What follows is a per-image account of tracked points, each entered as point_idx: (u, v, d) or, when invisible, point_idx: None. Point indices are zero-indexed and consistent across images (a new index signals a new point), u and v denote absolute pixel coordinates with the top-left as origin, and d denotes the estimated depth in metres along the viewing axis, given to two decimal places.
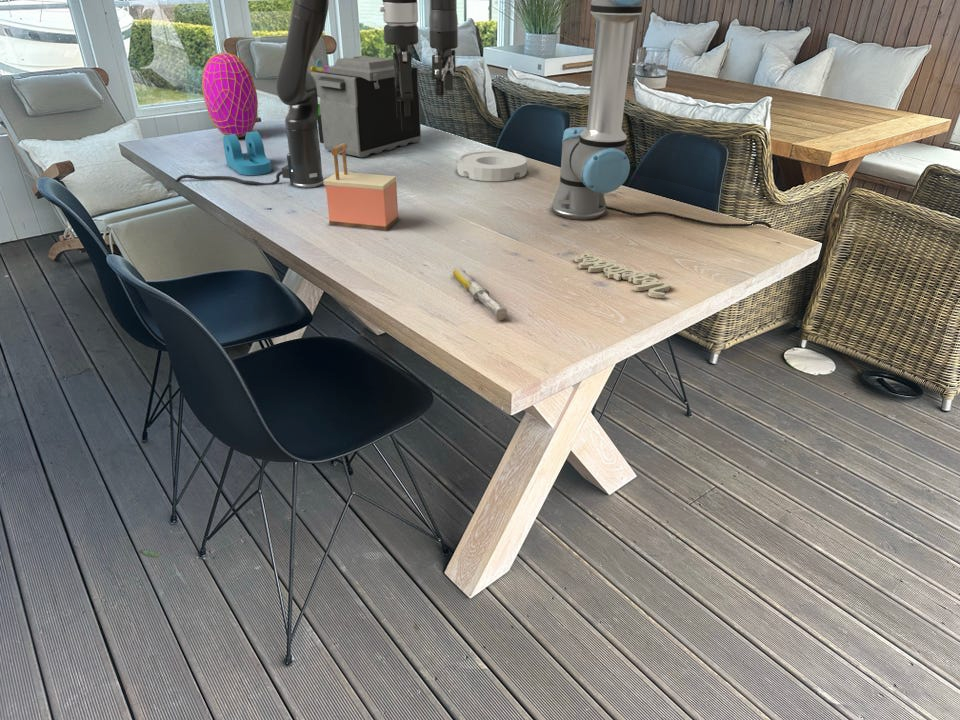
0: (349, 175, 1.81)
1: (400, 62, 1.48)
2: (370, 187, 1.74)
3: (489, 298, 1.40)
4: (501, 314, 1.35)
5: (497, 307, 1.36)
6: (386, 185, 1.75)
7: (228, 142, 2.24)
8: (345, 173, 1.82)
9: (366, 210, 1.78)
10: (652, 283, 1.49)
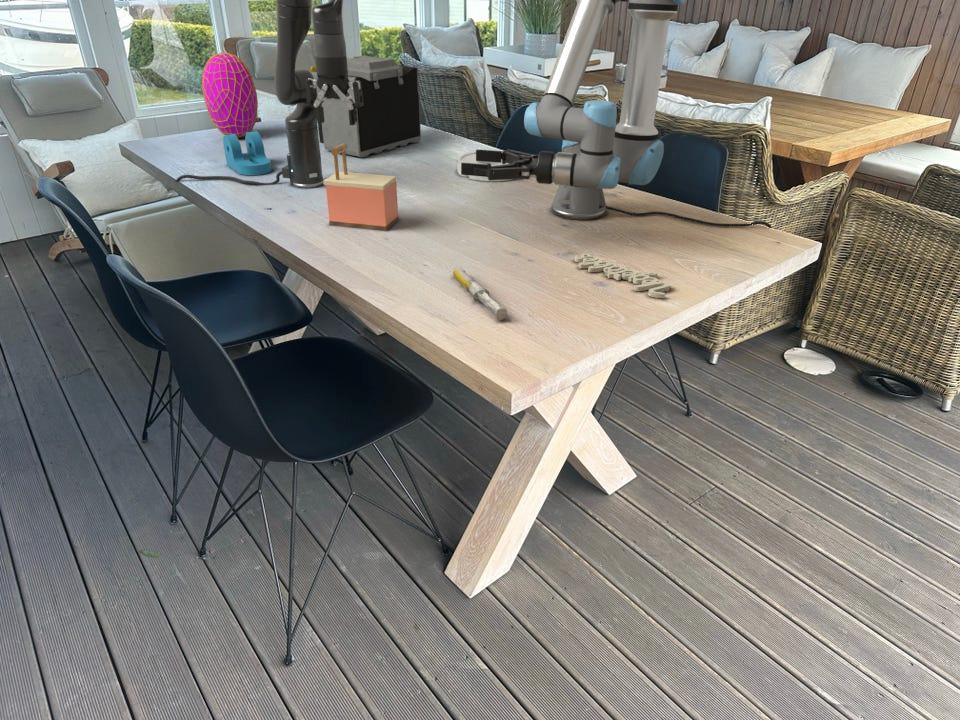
0: (349, 175, 1.81)
1: None
2: (370, 187, 1.74)
3: (489, 298, 1.40)
4: (501, 314, 1.35)
5: (497, 307, 1.36)
6: (386, 185, 1.75)
7: (228, 142, 2.24)
8: (345, 173, 1.82)
9: (366, 210, 1.78)
10: (652, 283, 1.49)
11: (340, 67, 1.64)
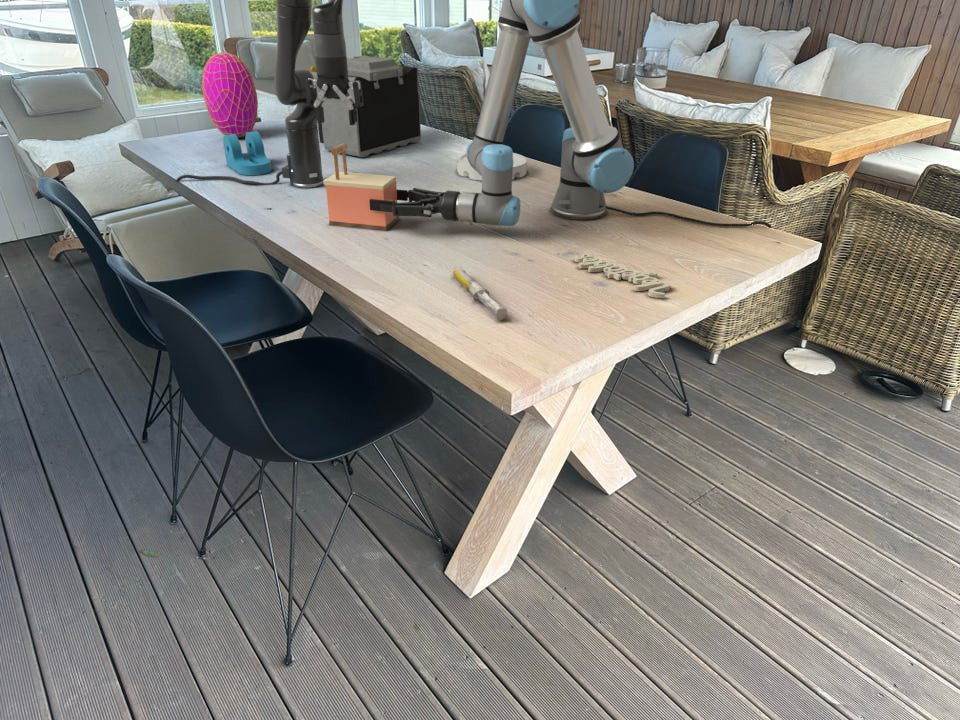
0: (349, 175, 1.81)
1: None
2: (370, 187, 1.74)
3: (489, 298, 1.40)
4: (501, 314, 1.35)
5: (497, 307, 1.36)
6: (386, 185, 1.75)
7: (228, 142, 2.24)
8: (345, 173, 1.82)
9: (366, 210, 1.78)
10: (652, 283, 1.49)
11: (340, 67, 1.64)
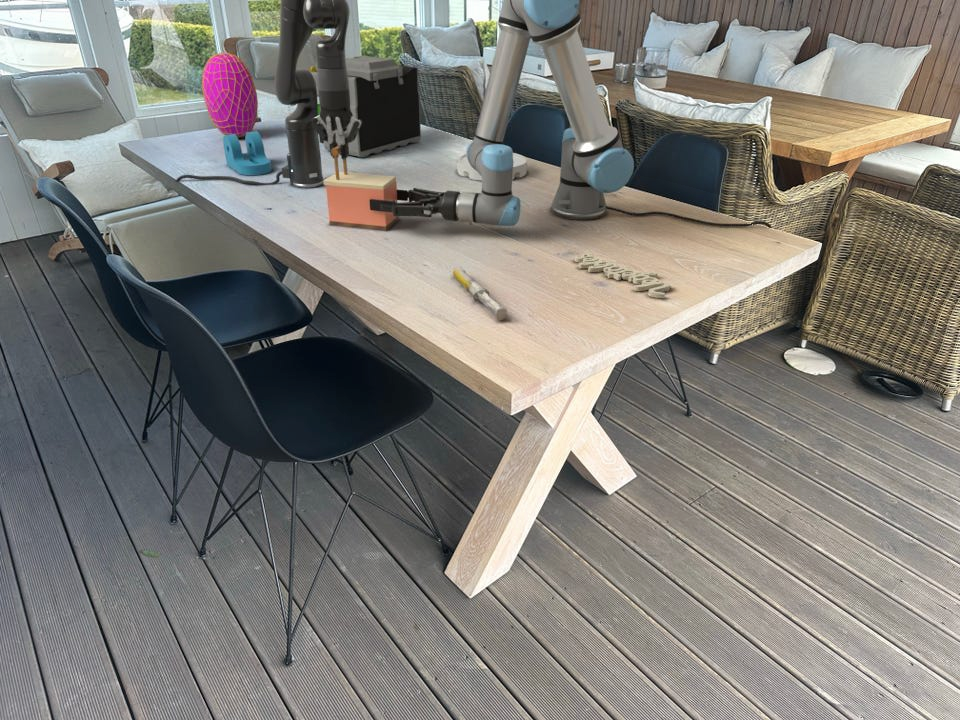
0: (349, 175, 1.81)
1: None
2: (370, 187, 1.74)
3: (489, 298, 1.40)
4: (501, 314, 1.35)
5: (497, 307, 1.36)
6: (386, 185, 1.75)
7: (228, 142, 2.24)
8: (345, 173, 1.82)
9: (366, 210, 1.78)
10: (652, 283, 1.49)
11: (343, 100, 1.68)
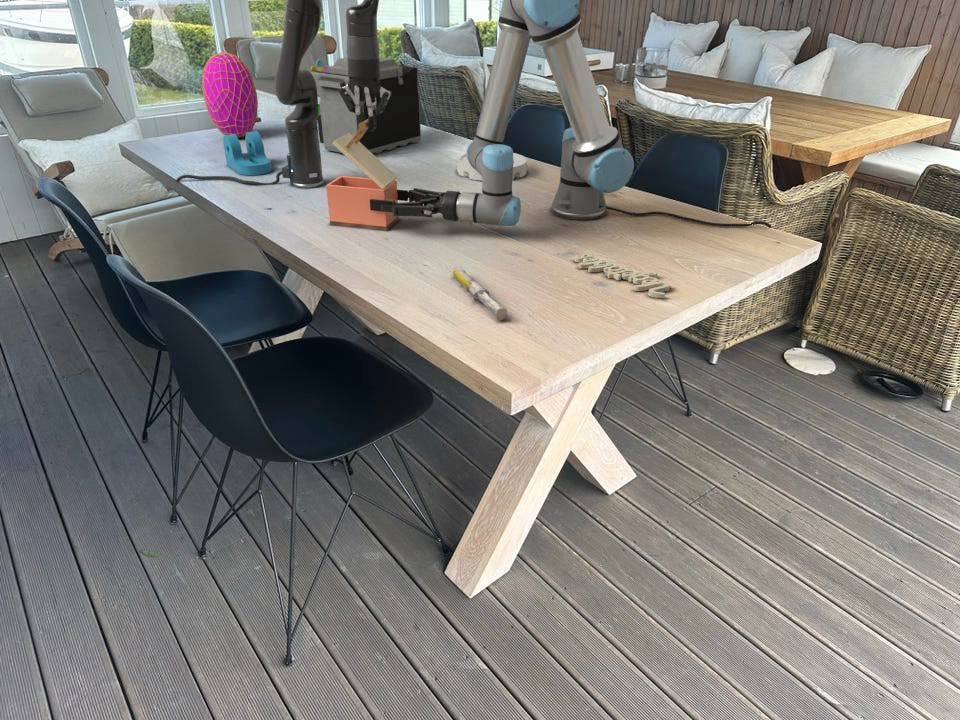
0: (358, 146, 1.77)
1: None
2: (372, 178, 1.73)
3: (489, 298, 1.40)
4: (501, 314, 1.35)
5: (497, 307, 1.36)
6: (387, 185, 1.75)
7: (228, 142, 2.24)
8: (356, 142, 1.77)
9: (367, 210, 1.78)
10: (652, 283, 1.49)
11: (373, 69, 1.62)
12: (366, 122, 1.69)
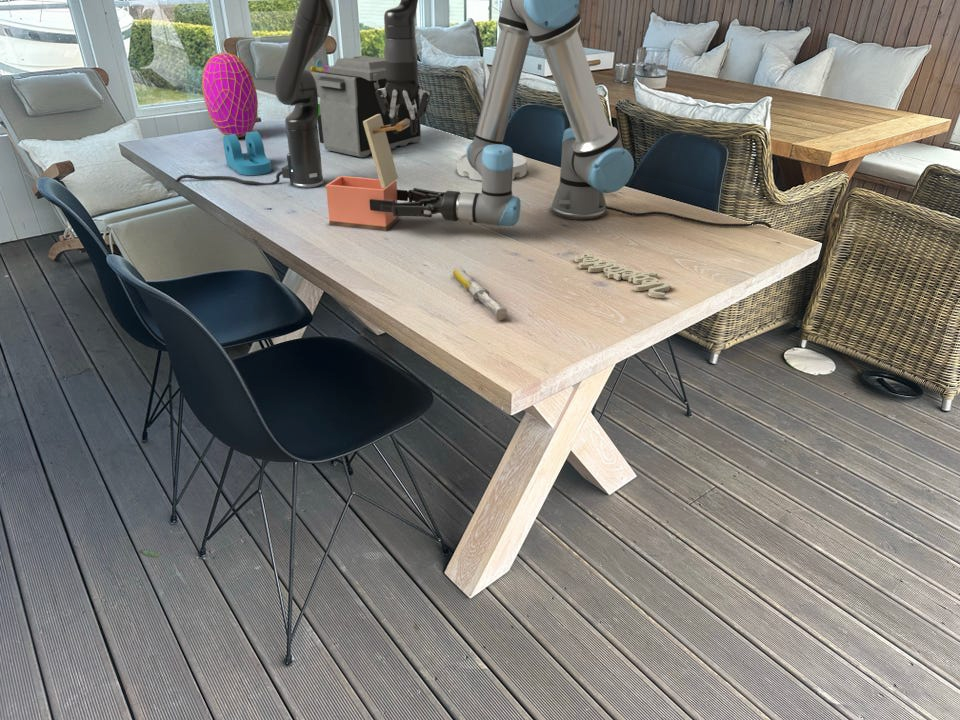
0: (381, 132, 1.73)
1: None
2: (379, 174, 1.72)
3: (489, 298, 1.40)
4: (501, 314, 1.35)
5: (497, 307, 1.36)
6: None
7: (228, 142, 2.24)
8: (381, 128, 1.73)
9: (366, 210, 1.78)
10: (652, 283, 1.49)
11: (411, 72, 1.60)
12: (404, 125, 1.67)
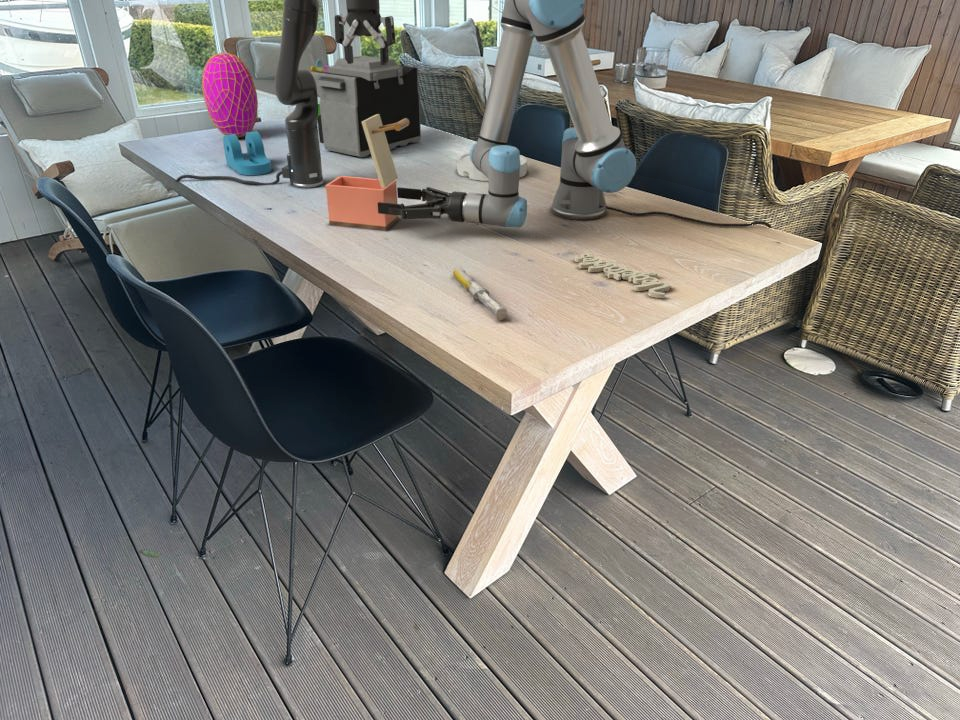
0: (380, 133, 1.74)
1: None
2: (378, 174, 1.72)
3: (489, 298, 1.40)
4: (501, 314, 1.35)
5: (497, 307, 1.36)
6: None
7: (228, 142, 2.24)
8: (380, 128, 1.73)
9: (366, 210, 1.78)
10: (652, 283, 1.49)
11: (372, 0, 1.55)
12: (403, 124, 1.67)
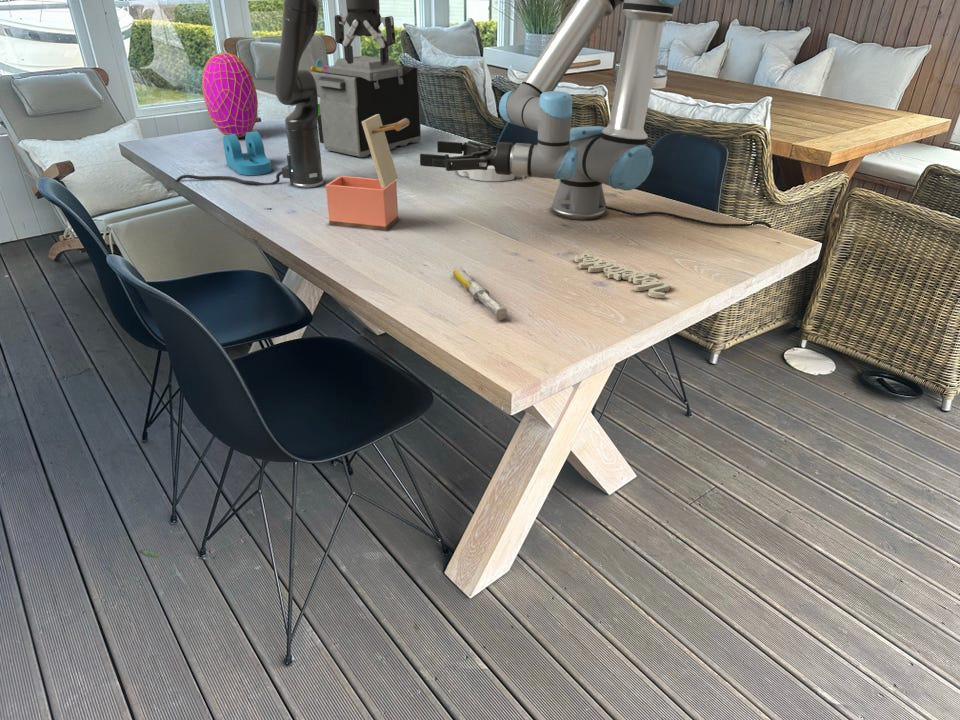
0: (380, 133, 1.74)
1: None
2: (378, 174, 1.72)
3: (489, 298, 1.40)
4: (501, 314, 1.35)
5: (497, 307, 1.36)
6: None
7: (228, 142, 2.24)
8: (380, 128, 1.73)
9: (366, 210, 1.78)
10: (652, 283, 1.49)
11: (372, 0, 1.55)
12: (403, 124, 1.67)
